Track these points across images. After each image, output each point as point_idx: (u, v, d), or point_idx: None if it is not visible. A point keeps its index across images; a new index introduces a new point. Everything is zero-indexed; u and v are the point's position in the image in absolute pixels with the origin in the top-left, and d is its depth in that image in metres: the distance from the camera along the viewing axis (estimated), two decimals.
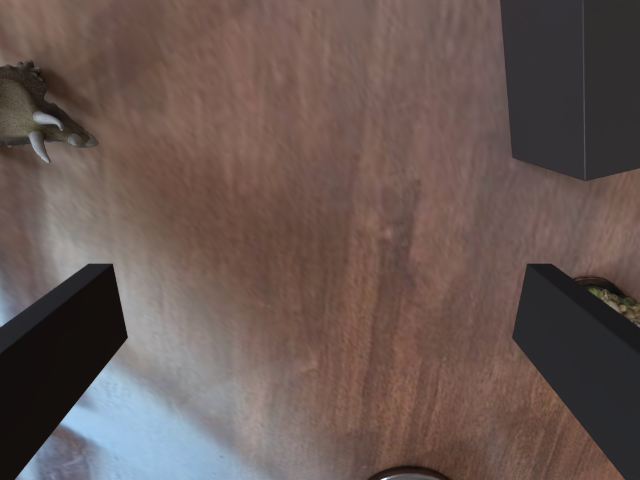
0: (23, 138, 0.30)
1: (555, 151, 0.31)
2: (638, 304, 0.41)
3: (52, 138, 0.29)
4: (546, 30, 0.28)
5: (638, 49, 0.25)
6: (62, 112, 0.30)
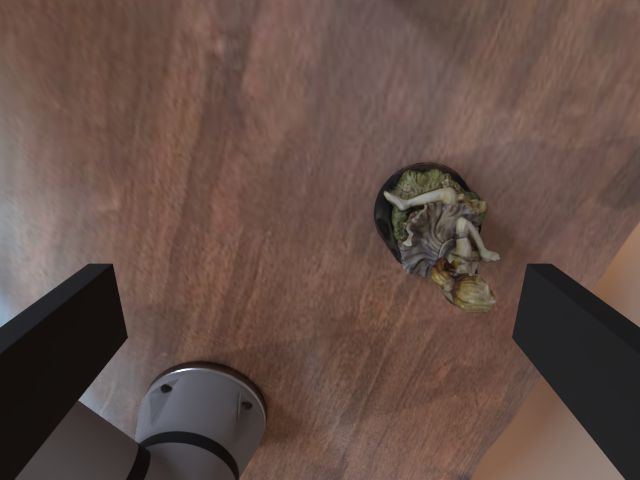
0: None
1: None
2: (480, 200, 0.37)
3: None
4: None
5: None
6: None
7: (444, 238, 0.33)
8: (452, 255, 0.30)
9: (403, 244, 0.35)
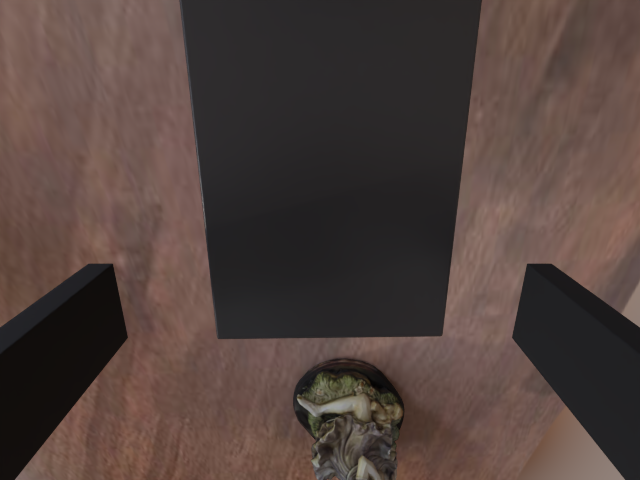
0: None
1: None
2: (396, 404, 0.36)
3: None
4: None
5: (310, 97, 0.11)
6: None
7: (352, 463, 0.32)
8: None
9: None
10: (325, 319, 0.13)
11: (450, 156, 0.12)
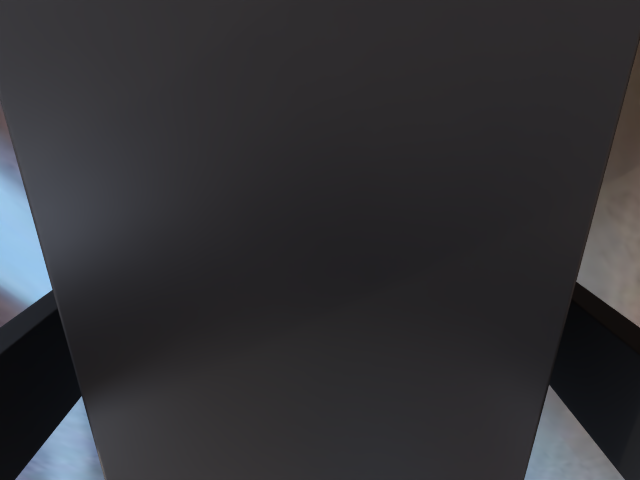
0: None
1: None
2: None
3: None
4: None
5: (271, 195, 0.05)
6: None
7: None
8: None
9: None
10: None
11: (547, 300, 0.06)
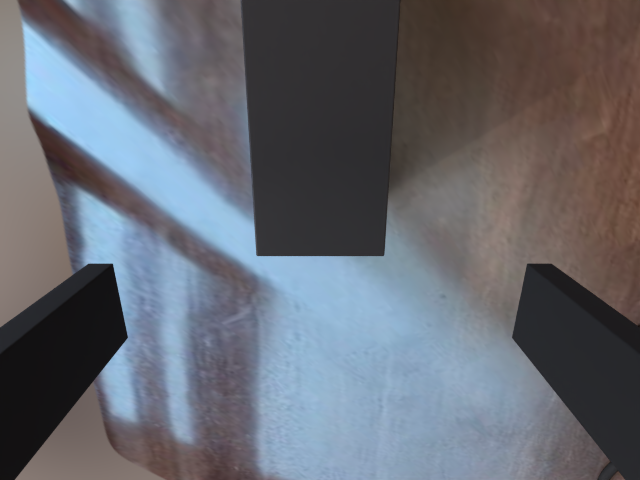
0: None
1: None
2: None
3: None
4: None
5: (309, 123, 0.21)
6: None
7: None
8: None
9: None
10: (317, 245, 0.24)
11: (383, 153, 0.22)
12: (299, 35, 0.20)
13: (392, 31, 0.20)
